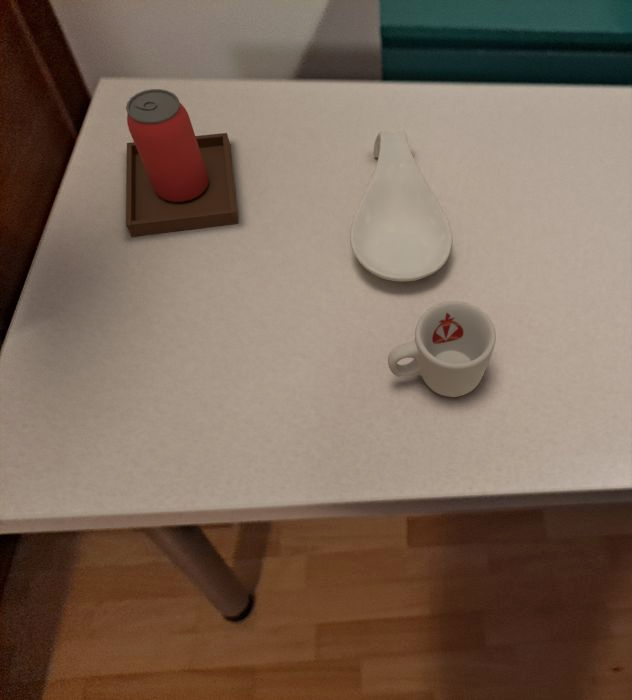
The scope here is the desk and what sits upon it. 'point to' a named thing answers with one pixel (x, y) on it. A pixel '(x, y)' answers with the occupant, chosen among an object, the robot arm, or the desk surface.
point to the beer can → (167, 145)
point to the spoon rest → (399, 217)
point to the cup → (448, 348)
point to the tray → (203, 211)
